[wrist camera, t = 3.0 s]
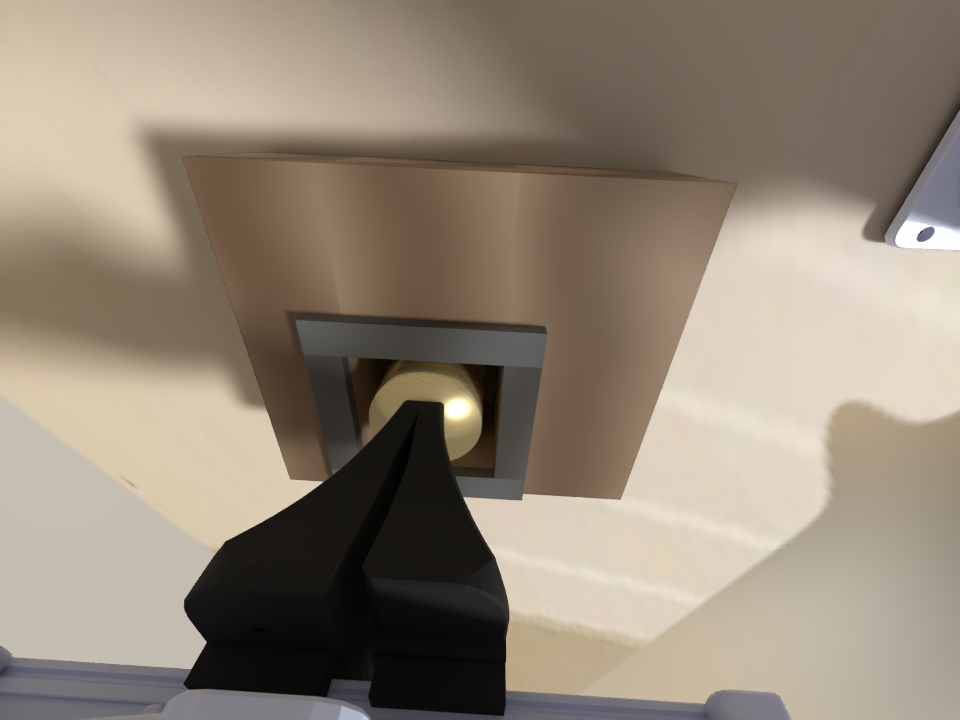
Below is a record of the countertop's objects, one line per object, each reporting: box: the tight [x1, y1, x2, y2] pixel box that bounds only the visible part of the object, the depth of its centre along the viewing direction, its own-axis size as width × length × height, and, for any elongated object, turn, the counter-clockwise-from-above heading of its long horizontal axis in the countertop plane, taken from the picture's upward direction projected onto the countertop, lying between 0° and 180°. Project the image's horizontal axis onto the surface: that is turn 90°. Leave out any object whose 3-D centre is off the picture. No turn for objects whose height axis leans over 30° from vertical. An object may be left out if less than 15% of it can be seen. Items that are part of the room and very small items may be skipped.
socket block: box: [182, 152, 737, 500], centre depth 14 cm, size 14×12×4 cm
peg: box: [369, 359, 485, 461], centre depth 15 cm, size 4×4×4 cm
